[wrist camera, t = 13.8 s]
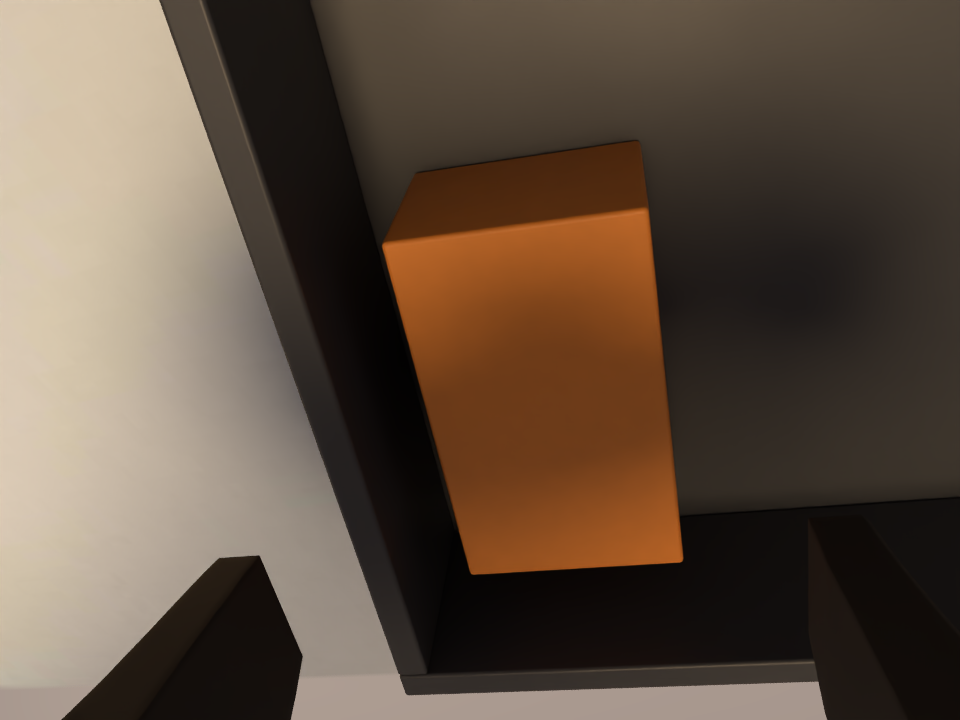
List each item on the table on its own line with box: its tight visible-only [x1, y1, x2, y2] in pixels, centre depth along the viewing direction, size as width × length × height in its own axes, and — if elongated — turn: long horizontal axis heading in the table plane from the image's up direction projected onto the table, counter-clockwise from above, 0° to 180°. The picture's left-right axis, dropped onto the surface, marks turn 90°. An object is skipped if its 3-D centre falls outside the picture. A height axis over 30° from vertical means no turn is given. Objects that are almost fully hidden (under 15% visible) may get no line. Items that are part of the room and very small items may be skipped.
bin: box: [159, 0, 960, 695], centre depth 14 cm, size 16×19×4 cm
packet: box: [382, 141, 684, 575], centre depth 16 cm, size 4×7×3 cm, turn 11°
